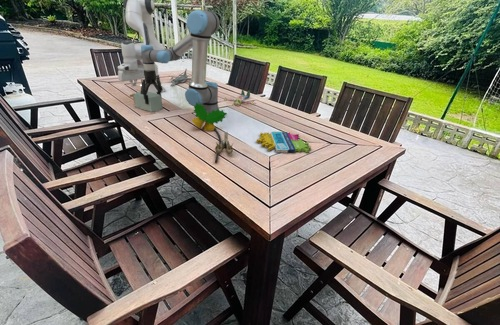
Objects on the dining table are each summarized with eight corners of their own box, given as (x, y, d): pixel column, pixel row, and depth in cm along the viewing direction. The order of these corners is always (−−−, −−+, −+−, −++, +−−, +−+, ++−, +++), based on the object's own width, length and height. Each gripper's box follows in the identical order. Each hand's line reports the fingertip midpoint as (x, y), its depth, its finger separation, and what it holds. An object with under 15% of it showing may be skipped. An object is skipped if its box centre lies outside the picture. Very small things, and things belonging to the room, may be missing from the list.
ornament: (218, 133, 171) (224, 110, 169) (221, 134, 163) (227, 111, 161) (186, 125, 162) (192, 101, 160) (189, 126, 155) (195, 101, 153)
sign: (313, 150, 142) (258, 149, 139) (312, 153, 143) (258, 152, 140) (301, 132, 164) (254, 130, 161) (301, 134, 165) (254, 133, 162)
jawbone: (234, 135, 144) (233, 125, 135) (233, 160, 138) (232, 151, 129) (217, 135, 144) (216, 125, 135) (216, 160, 138) (214, 150, 129)
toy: (261, 91, 228) (254, 99, 202) (261, 99, 231) (253, 108, 205) (231, 87, 233) (220, 95, 207) (230, 95, 236) (219, 104, 210)
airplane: (161, 78, 276) (160, 68, 271) (190, 77, 289) (190, 67, 284) (170, 88, 248) (168, 77, 243) (201, 85, 261) (201, 75, 256)
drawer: (129, 103, 195) (127, 92, 191) (139, 101, 202) (137, 90, 198) (149, 109, 185) (148, 98, 181) (159, 107, 192) (158, 95, 188)
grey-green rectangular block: (135, 107, 192) (133, 93, 187) (146, 104, 199) (144, 90, 194) (151, 112, 184) (150, 97, 179) (162, 108, 192) (161, 95, 187)
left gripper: (140, 64, 194) (142, 83, 200) (115, 67, 178) (118, 87, 185) (146, 65, 191) (148, 84, 198) (121, 68, 175) (124, 89, 182)
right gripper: (158, 67, 186) (161, 98, 197) (131, 71, 169) (136, 104, 180) (166, 69, 183) (169, 100, 194) (139, 73, 166) (143, 107, 177)
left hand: (134, 86), depth 191 cm, fingers closed
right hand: (153, 102), depth 187 cm, fingers closed on grey-green rectangular block, 10 cm apart
